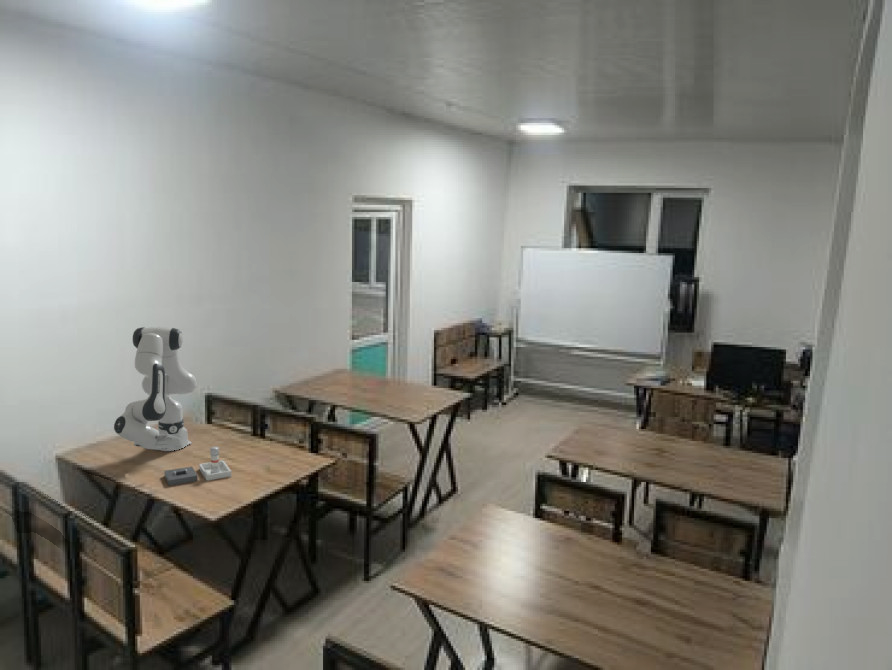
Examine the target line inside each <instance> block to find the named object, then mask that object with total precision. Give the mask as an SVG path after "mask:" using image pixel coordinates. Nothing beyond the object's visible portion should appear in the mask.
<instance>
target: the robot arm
mask: <svg viewBox="0 0 892 670" xmlns="http://www.w3.org/2000/svg"><path fill="white" fill-rule="evenodd" d="M131 340H132V344H133V346H134V347H135V349H136V352H135V359H134V368H135V370H136V371H137V372H138V373H139V374H140V375H142V376H144V377H143V379H142V381H141V388H142V390H143V391H144V393H145V394H147V395H148V397H147V398H146V399H142V400H136V401H133V402H130V403H129V404H127V406H126V407H125V410H124V411H123V413H122V414H121V415H120V416H118V417H117V418H116V419H115V421H114V424H113V430H114V432H115V433H116V434H117V435H118V436H120V437H121V438H123V439H125V440H127V441H130V442H133V446H135V447H140V448H144V449H146V450H153V451H162V452H174V450H175V451H179V449H180V450H182V449H181V448H183V449H185V448H186V447H188V446H189V445H188V444H190V445H192V441H191V440H189V439H188V438H189V437H188V430H187V428H186V427H185V425H184V423H185V421H184V418H183V406H182V403H180V401H178V400H175V399H174V398H172V397H171V396H170V395H186V394H192V393H193V392H194V391H195V390H196V388H197V384H198V383H197V378H196V377H195V375H194V374H193V373H191V372H189V371H187V369H185V368H184V367H183V366H182V364H181V362H180V358H179V352H178V350H179V349H180V348H181V347H182V345H183V342H184V337H183V333H182V331H181V330H180V329H178V328H174V327H172V328H170V327H161V326H158V327H156V326H155V327H154V326H153V327H152V326H151V327H145V326H144V327H143V326H142V327H138V328H136V329H135V330H134V331H133V333H132V339H131ZM155 421H156V422H157V421H158V425H157V426H158V429H157V428H154V427H152V426H150V425H148V422H155ZM187 445H188V446H187ZM185 446H186V447H185ZM184 447H185V448H184Z"/></svg>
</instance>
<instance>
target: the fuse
mask: <svg viewBox="0 0 892 670" xmlns="http://www.w3.org/2000/svg"><path fill="white" fill-rule="evenodd" d="M209 450H210V451H209V452H210V462H211V474H213V473H219V472H220V468H219V461H220V458H219V457H220V456H219V455H220V447H219V446H210V448H209Z"/></svg>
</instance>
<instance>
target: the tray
mask: <svg viewBox="0 0 892 670" xmlns="http://www.w3.org/2000/svg"><path fill="white" fill-rule="evenodd" d="M198 464H199V468H198V469H199V471H200V472H201V474H202V476H203V477H204V479H205V481H207V482H208V481H211V480H217V479H218V480H219V479H224V478H232V469H230V467H229V466H228V464H227V463H226V462H225V461H224V460H219V468H220V472H219V473H213V474H211V461H210V462H204V463H203V462H202V463H198Z"/></svg>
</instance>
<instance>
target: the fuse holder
mask: <svg viewBox="0 0 892 670" xmlns="http://www.w3.org/2000/svg"><path fill="white" fill-rule="evenodd" d="M163 473H164V478H165V480H166V482H167V484H168V486H170V487H171V486H175V485H181V484H189V483H193V482H198V479H199V477H198V476H199V475H198V474H197V472H196V470H195V469H194V467H193V466H187V467H181V468H173V469H166V470H164V472H163Z"/></svg>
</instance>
